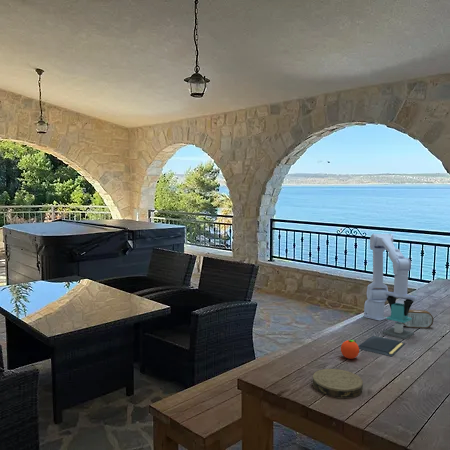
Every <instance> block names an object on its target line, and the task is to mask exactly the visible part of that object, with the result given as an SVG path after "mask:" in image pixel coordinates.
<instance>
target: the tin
mask: <svg viewBox="0 0 450 450" xmlns="http://www.w3.org/2000/svg"><path fill="white" fill-rule="evenodd" d="M408 317H409V318H412V320H410V321H408V322H406V323H403V326H405V327H407V328H413V329H428V328H431V326H433V324H434V316H433V315H432V313H430V311H428V310H425V309H424V310H423V309H422V310H421V309H409V312H408Z"/></svg>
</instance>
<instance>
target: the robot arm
mask: <svg viewBox="0 0 450 450" xmlns="http://www.w3.org/2000/svg"><path fill="white" fill-rule="evenodd" d="M369 248H370V250H372V282H371V283H369V284H368V285H367V289H366V298H367V299H365V302H364V304H363V305H364V307H363V308H364V309H363V315H362V317H363V318H366V319H371V320H376V321H380V322H381V321H383V320H387V317H388V316H385V305H386V304H385V303H386V302H387V303H388V305H389V308H390V309H391V305H392V304H394V303H397V302H396V301H397V299H402V300H403V304H404V308H405V309H404V316H407V315H408V312H409V310H411V307H412V305H413V304H414V302H415V303H416V302H418V296H417V295H415V296H414V295H411V294H408V286H409V285H408V284H409V272H410V271H411V269H412V261H411V259H410V258H408V257H405V255H404V254H403V253H402V251H401V250H400V249H399V248H396V247H395V245H394V237H393V235H392V234H391V233H371V235H370V238H369ZM385 251H387V252H388V253H387V254H388V255H387V256H388V258H389V259H390V261H391V262H392V269H393V271H392V272H393V275H394V281H393V291H389V287H388V285H387V284H385V282H384V252H385Z"/></svg>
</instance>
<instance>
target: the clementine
mask: <svg viewBox="0 0 450 450" xmlns="http://www.w3.org/2000/svg"><path fill="white" fill-rule="evenodd" d="M358 346H359V344H358V343H357V342H356V340H354V339H349V340H348V339H347V340H345V341H344V342H342V343H341V345H340V352H341V354H342V356H343V357H345V358H346V359H349V360H350V359H351V360H352V359H353V360H354V359H355V358H357V357H358V356H359V353H360V349H359V347H358Z"/></svg>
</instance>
